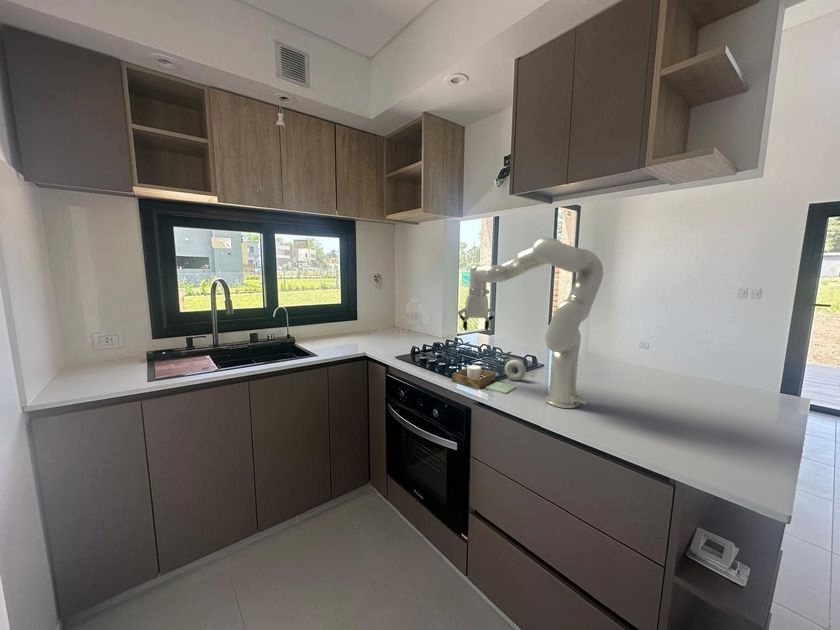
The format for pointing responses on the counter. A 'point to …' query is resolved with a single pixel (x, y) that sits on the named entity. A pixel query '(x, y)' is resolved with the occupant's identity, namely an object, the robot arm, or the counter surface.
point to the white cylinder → (474, 371)
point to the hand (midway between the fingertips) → (475, 329)
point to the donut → (511, 374)
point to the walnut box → (472, 382)
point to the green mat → (500, 387)
